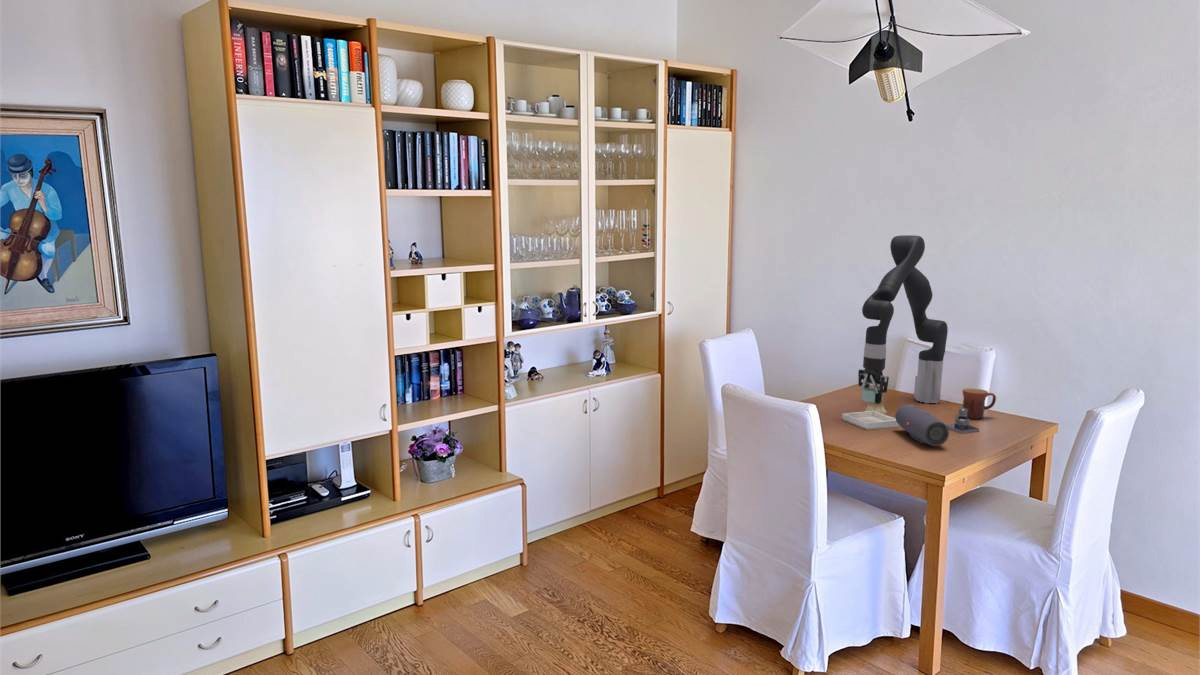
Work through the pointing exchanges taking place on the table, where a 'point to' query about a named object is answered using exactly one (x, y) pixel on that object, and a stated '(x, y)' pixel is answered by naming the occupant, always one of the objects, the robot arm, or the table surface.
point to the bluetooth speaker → (922, 425)
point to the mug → (976, 402)
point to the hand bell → (876, 407)
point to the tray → (870, 420)
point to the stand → (962, 423)
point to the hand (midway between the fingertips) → (871, 400)
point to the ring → (869, 394)
